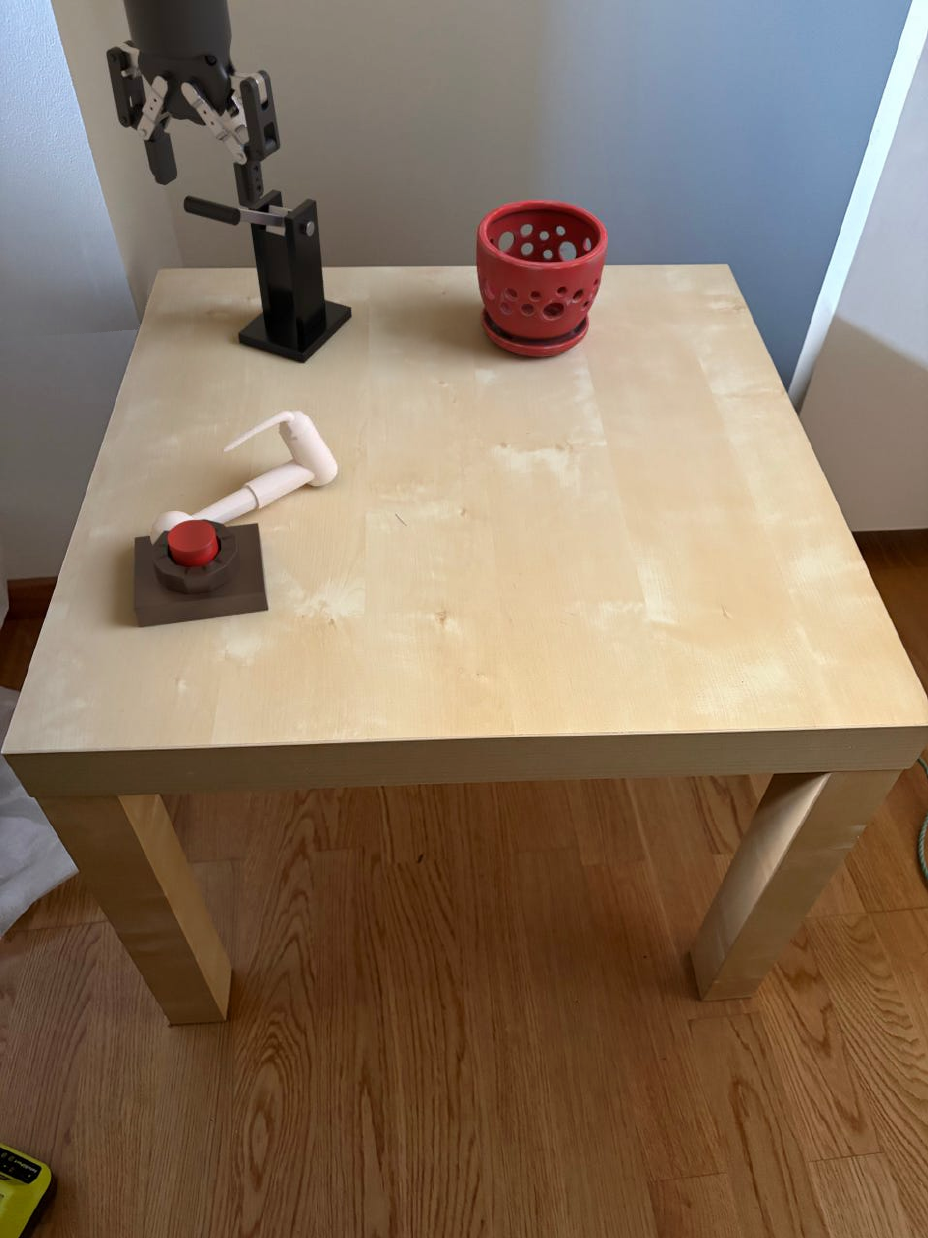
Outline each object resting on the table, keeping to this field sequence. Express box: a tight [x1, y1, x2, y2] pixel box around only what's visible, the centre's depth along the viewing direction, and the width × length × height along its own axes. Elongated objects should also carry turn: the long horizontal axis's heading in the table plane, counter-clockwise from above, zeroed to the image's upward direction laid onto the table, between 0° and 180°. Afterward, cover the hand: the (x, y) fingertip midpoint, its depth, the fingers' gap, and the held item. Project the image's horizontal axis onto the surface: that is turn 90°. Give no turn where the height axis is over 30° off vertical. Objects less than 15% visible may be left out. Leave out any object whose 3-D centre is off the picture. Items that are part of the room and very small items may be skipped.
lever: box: [182, 194, 293, 236], centre depth 89 cm, size 14×5×2 cm, turn 155°
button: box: [168, 520, 218, 567], centre depth 75 cm, size 4×4×2 cm
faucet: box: [149, 410, 339, 545], centre depth 81 cm, size 4×18×10 cm, turn 134°
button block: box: [132, 519, 269, 628], centre depth 77 cm, size 10×8×4 cm
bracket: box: [237, 188, 353, 364], centre depth 98 cm, size 10×8×14 cm
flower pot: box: [475, 199, 609, 357], centre depth 100 cm, size 13×13×12 cm
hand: (208, 192), depth 83 cm, fingers open, 8 cm apart
